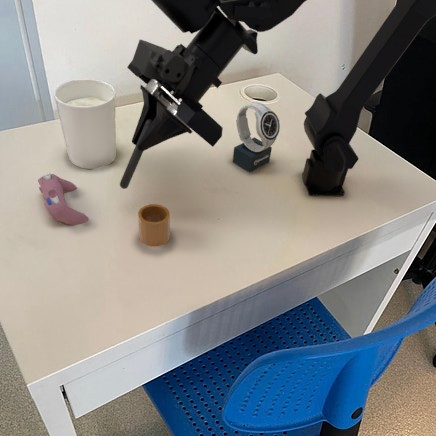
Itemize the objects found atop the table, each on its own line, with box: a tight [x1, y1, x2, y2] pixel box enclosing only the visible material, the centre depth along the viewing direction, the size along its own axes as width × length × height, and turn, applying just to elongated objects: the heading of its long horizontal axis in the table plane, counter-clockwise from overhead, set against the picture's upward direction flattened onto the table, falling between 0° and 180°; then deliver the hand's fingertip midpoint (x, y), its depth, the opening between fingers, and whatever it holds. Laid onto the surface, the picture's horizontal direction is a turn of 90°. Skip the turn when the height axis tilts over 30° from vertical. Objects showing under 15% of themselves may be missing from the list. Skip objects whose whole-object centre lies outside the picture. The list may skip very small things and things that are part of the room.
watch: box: [232, 101, 281, 173], centre depth 88 cm, size 6×8×11 cm
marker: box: [119, 119, 153, 190], centre depth 72 cm, size 6×1×10 cm, turn 122°
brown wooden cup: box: [137, 203, 171, 248], centre depth 73 cm, size 4×4×6 cm
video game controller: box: [37, 173, 90, 226], centre depth 76 cm, size 10×5×7 cm, turn 23°
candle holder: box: [53, 78, 117, 170], centre depth 85 cm, size 10×10×12 cm
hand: (136, 146), depth 71 cm, fingers closed on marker, 1 cm apart
